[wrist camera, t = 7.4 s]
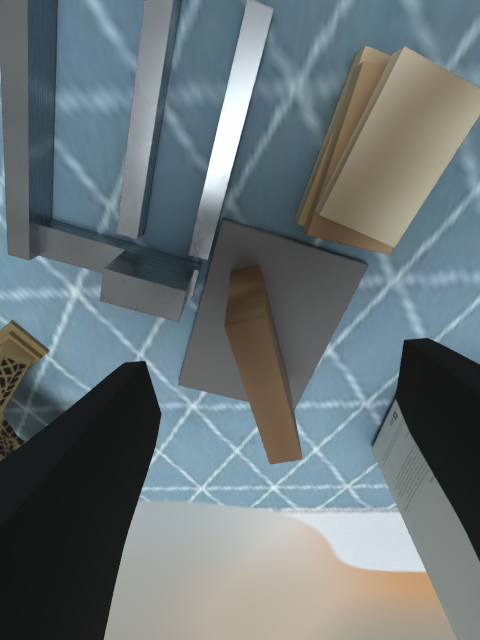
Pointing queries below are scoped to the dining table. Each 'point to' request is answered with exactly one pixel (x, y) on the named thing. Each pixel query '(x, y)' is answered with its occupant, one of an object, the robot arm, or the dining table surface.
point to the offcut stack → (385, 148)
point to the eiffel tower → (14, 375)
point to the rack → (146, 116)
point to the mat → (285, 301)
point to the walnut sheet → (261, 363)
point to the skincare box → (431, 525)
